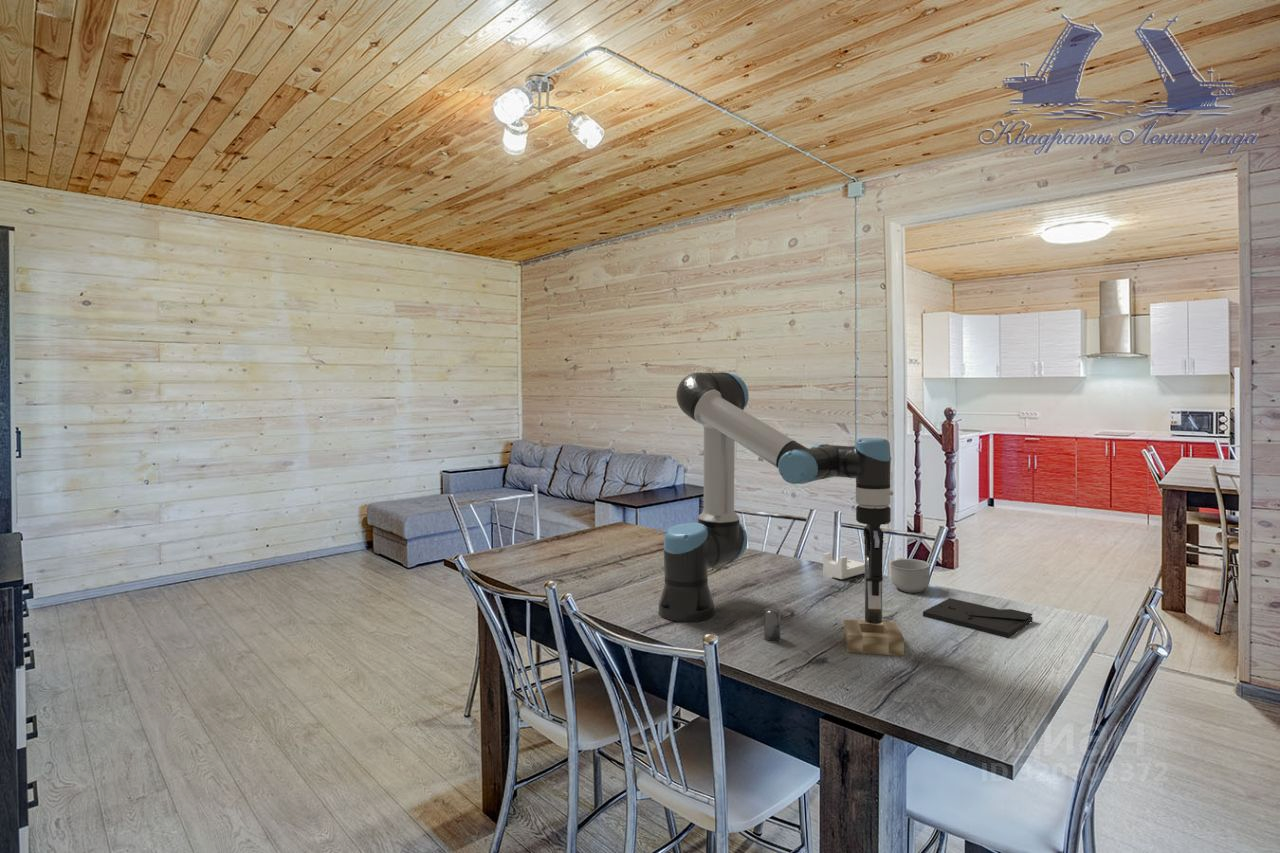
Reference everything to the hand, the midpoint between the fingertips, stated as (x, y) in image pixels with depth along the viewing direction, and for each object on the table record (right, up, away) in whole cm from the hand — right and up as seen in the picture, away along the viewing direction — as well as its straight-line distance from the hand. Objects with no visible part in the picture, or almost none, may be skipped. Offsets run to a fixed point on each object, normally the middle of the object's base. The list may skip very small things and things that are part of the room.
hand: (873, 605), depth 153 cm
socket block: (0, -10, +1) cm, 10 cm away
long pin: (0, -4, 0) cm, 4 cm away
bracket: (+11, -6, +57) cm, 59 cm away
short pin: (-22, -10, +6) cm, 25 cm away
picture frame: (+32, -9, +16) cm, 38 cm away
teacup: (+26, -7, +43) cm, 51 cm away
